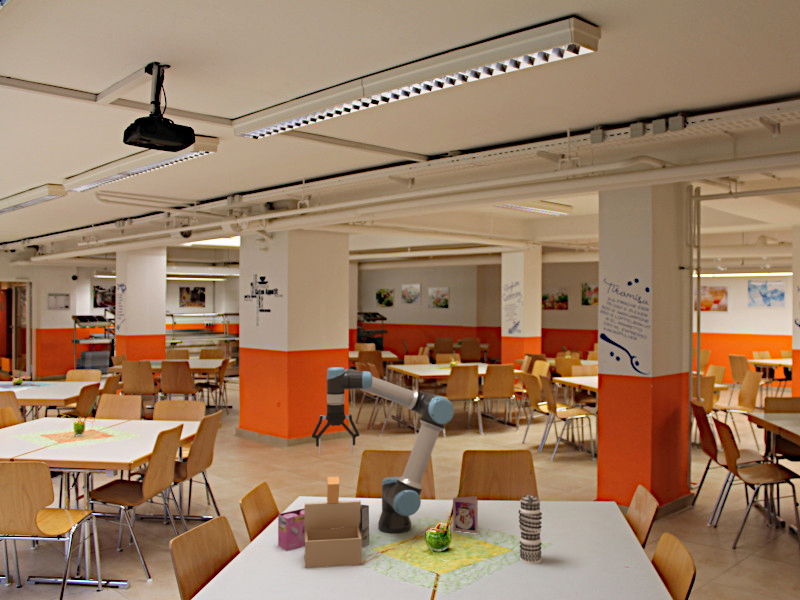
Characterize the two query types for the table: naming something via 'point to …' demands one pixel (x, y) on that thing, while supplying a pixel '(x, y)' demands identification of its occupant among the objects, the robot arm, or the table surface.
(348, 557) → the cardboard carton
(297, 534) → the gum box
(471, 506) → the greeting card
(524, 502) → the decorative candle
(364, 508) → the coffee box
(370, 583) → the table surface
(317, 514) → the lid flap
